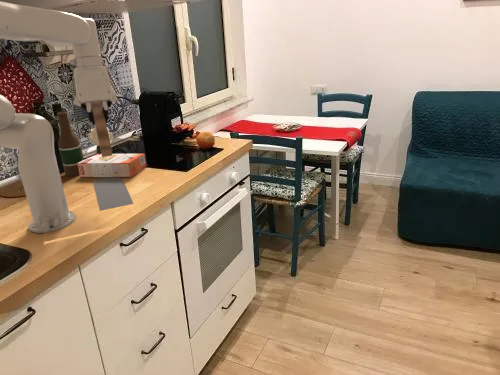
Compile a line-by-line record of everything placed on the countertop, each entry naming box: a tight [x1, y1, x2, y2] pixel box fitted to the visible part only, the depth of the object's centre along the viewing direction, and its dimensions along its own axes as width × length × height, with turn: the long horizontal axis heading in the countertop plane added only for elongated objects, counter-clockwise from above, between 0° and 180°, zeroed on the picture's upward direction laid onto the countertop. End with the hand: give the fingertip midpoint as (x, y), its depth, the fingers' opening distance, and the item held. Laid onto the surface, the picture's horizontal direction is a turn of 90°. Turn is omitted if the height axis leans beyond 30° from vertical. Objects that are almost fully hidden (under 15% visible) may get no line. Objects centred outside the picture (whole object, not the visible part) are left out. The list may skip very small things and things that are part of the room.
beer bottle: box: [56, 111, 85, 177], centre depth 156 cm, size 8×8×24 cm
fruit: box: [195, 131, 216, 150], centre depth 182 cm, size 8×8×8 cm
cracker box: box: [78, 153, 147, 178], centre depth 157 cm, size 14×6×21 cm
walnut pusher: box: [83, 101, 113, 157], centre depth 130 cm, size 25×7×5 cm
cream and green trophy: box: [87, 126, 114, 154], centre depth 175 cm, size 11×7×13 cm, turn 81°
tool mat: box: [92, 177, 135, 212], centre depth 139 cm, size 30×10×1 cm, turn 24°
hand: (99, 122), depth 131 cm, fingers closed on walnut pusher, 3 cm apart
